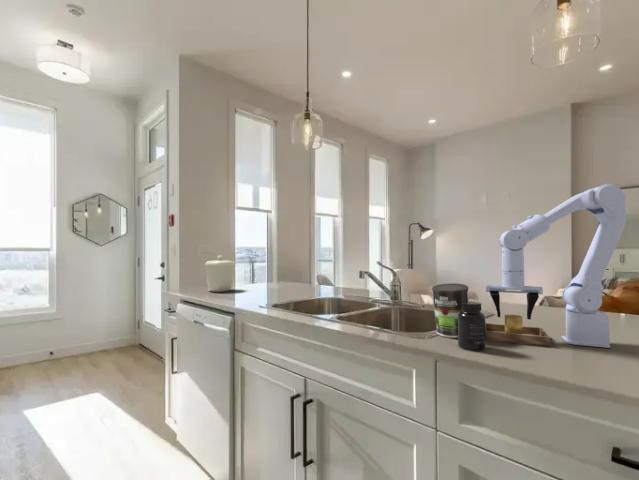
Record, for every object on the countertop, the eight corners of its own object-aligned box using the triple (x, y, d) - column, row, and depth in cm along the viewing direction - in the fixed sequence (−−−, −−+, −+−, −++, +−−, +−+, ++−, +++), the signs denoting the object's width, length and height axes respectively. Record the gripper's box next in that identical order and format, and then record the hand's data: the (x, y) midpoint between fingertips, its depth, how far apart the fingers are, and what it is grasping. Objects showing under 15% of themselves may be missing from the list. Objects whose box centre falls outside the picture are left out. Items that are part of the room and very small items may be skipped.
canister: (223, 293, 196) (223, 256, 196) (197, 292, 202) (197, 255, 203) (241, 289, 213) (241, 255, 213) (216, 288, 219) (217, 254, 219)
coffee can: (464, 340, 99) (460, 291, 99) (430, 335, 106) (426, 289, 106) (477, 329, 107) (473, 283, 106) (444, 325, 114) (440, 282, 113)
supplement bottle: (453, 344, 96) (453, 300, 96) (477, 343, 97) (476, 300, 97) (465, 351, 89) (465, 304, 90) (491, 351, 90) (490, 304, 90)
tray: (542, 336, 104) (541, 327, 104) (549, 347, 93) (549, 337, 94) (482, 331, 111) (482, 322, 111) (483, 340, 100) (483, 331, 100)
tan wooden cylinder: (523, 336, 102) (523, 315, 102) (520, 339, 99) (520, 318, 99) (506, 333, 105) (506, 313, 105) (503, 336, 102) (503, 316, 102)
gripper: (539, 270, 103) (540, 317, 103) (485, 269, 109) (485, 313, 109) (543, 272, 97) (544, 321, 97) (485, 271, 103) (486, 317, 103)
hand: (513, 317), depth 102 cm, fingers open, 7 cm apart
